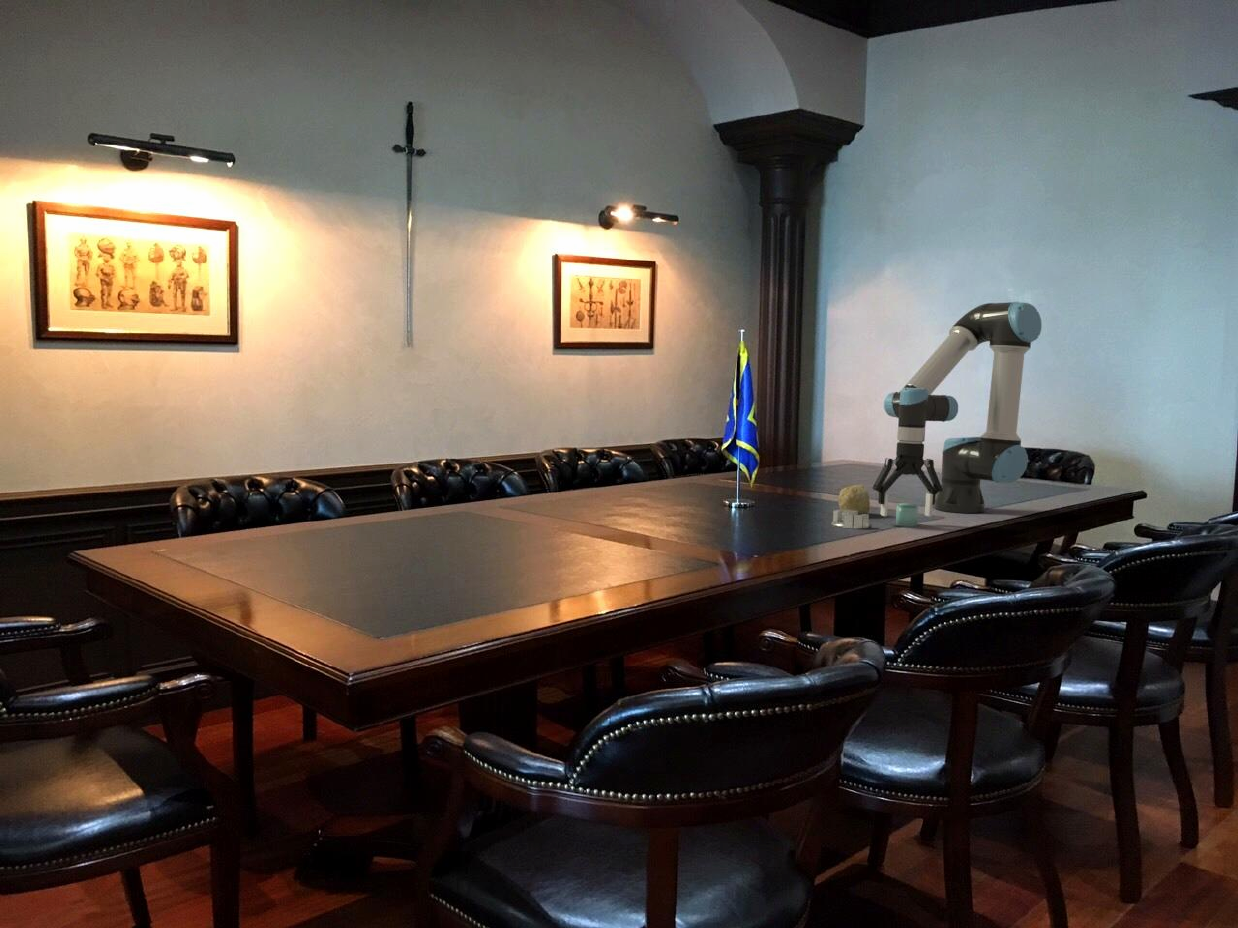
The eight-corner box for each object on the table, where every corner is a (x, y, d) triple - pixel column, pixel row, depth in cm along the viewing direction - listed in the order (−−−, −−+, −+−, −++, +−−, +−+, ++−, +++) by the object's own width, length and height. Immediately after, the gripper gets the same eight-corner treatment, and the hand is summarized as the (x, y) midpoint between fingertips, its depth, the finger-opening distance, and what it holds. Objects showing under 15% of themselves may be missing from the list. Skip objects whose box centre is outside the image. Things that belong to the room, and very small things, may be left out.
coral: (882, 494, 308) (854, 481, 306) (867, 525, 309) (839, 512, 307) (870, 487, 318) (842, 475, 315) (855, 517, 319) (827, 504, 316)
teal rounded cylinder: (911, 523, 300) (912, 502, 300) (921, 526, 294) (922, 505, 294) (892, 523, 299) (893, 502, 299) (901, 526, 293) (902, 505, 293)
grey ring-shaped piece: (860, 521, 300) (861, 509, 300) (875, 528, 290) (876, 515, 289) (826, 522, 298) (826, 509, 298) (839, 528, 288) (840, 515, 288)
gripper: (945, 441, 300) (940, 514, 302) (863, 440, 296) (859, 513, 298) (957, 444, 293) (952, 518, 295) (874, 442, 288) (870, 517, 290)
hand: (905, 515), depth 296 cm, fingers open, 13 cm apart
